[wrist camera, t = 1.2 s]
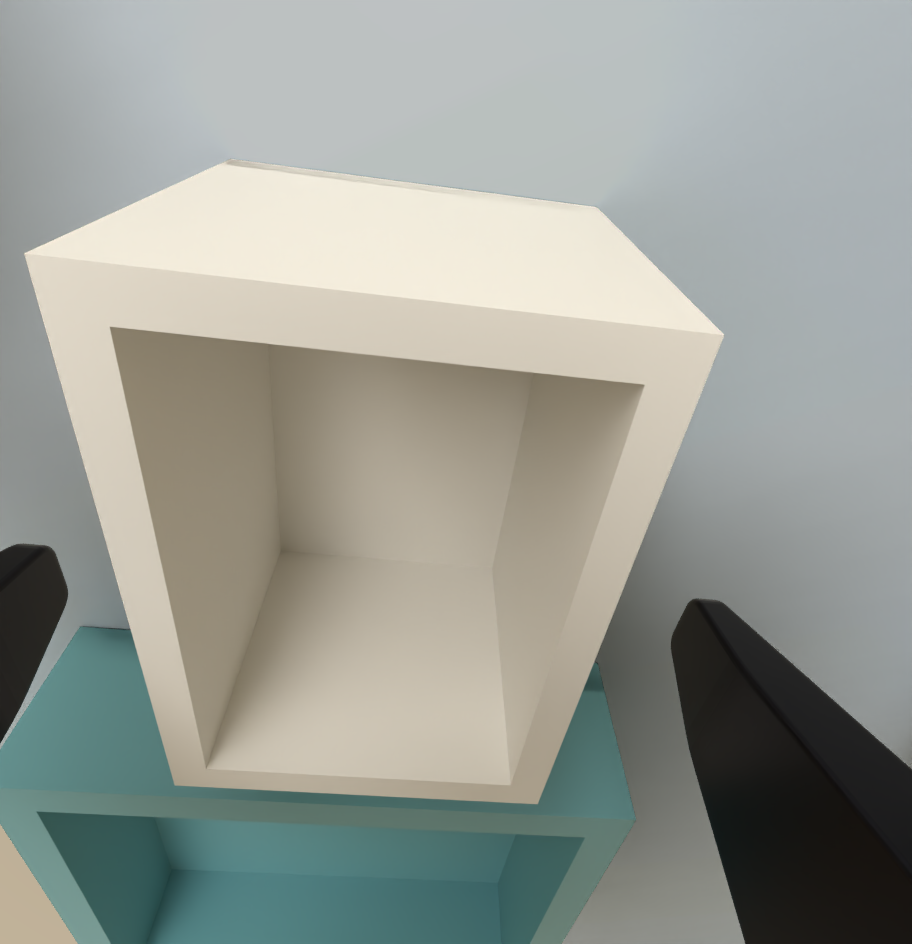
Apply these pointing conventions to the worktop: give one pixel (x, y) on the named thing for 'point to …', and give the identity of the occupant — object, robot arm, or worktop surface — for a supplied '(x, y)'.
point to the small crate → (368, 466)
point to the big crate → (288, 833)
